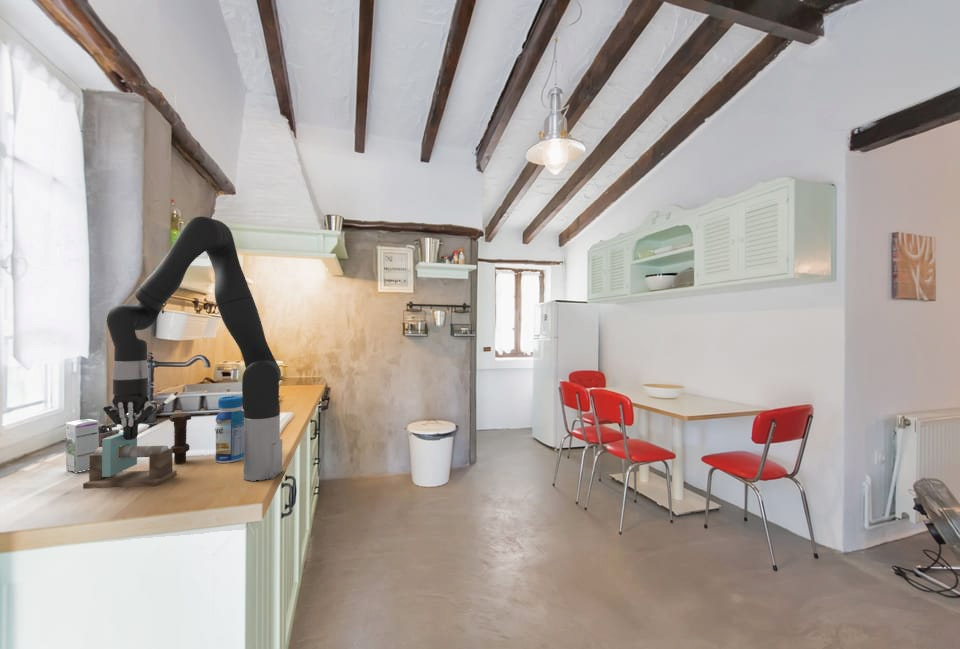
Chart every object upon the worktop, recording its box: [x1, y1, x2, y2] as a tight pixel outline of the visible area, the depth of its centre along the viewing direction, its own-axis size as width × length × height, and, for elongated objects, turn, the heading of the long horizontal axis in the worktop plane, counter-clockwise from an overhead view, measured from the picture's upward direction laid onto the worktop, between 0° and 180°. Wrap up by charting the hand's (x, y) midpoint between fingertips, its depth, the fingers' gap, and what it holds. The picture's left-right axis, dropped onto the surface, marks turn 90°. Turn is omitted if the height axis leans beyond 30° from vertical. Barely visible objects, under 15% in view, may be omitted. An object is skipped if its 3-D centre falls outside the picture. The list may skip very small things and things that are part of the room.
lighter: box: [98, 422, 121, 447], centre depth 140 cm, size 8×3×10 cm, turn 148°
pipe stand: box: [82, 445, 178, 489], centre depth 117 cm, size 18×9×10 cm, turn 96°
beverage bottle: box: [214, 395, 244, 464], centre depth 136 cm, size 8×8×20 cm
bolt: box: [169, 412, 192, 465], centre depth 132 cm, size 6×5×15 cm
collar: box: [102, 431, 138, 477], centre depth 117 cm, size 2×10×10 cm, turn 6°
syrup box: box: [65, 418, 99, 473], centre depth 126 cm, size 6×6×14 cm
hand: (130, 439), depth 117 cm, fingers closed
